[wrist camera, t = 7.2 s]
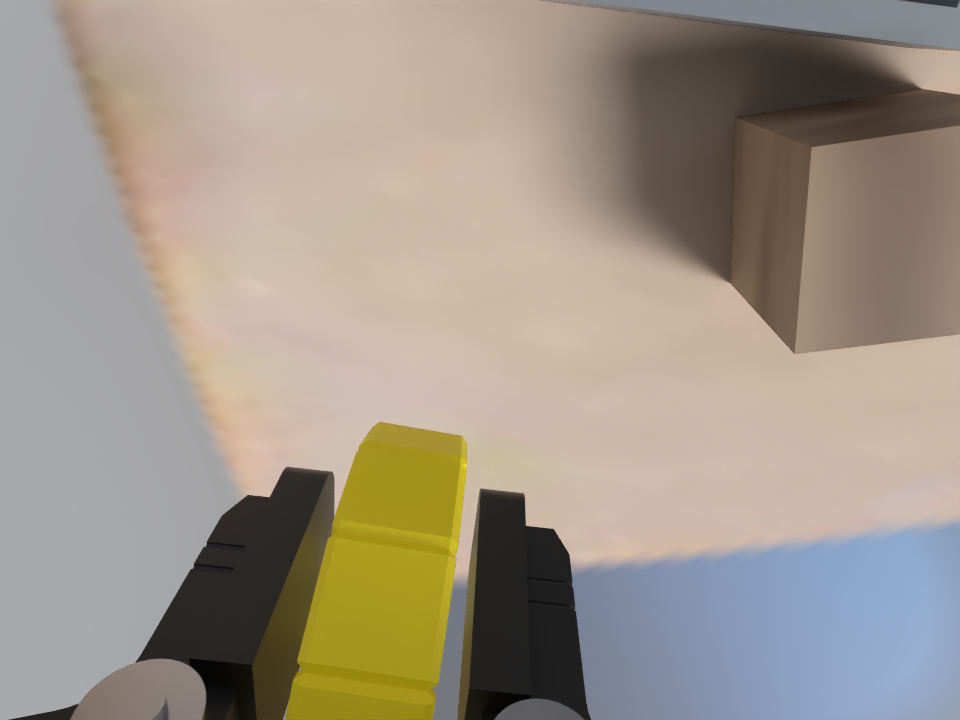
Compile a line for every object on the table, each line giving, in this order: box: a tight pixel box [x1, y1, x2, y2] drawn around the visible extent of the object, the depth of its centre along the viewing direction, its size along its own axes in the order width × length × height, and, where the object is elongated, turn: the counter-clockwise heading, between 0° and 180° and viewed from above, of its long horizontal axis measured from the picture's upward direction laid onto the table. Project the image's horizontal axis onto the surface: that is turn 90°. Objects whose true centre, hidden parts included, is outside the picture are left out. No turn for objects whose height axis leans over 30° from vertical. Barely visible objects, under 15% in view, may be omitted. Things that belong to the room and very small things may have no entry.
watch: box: [286, 422, 467, 720], centre depth 9 cm, size 6×3×6 cm, turn 170°
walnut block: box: [731, 89, 960, 354], centre depth 17 cm, size 5×5×5 cm
